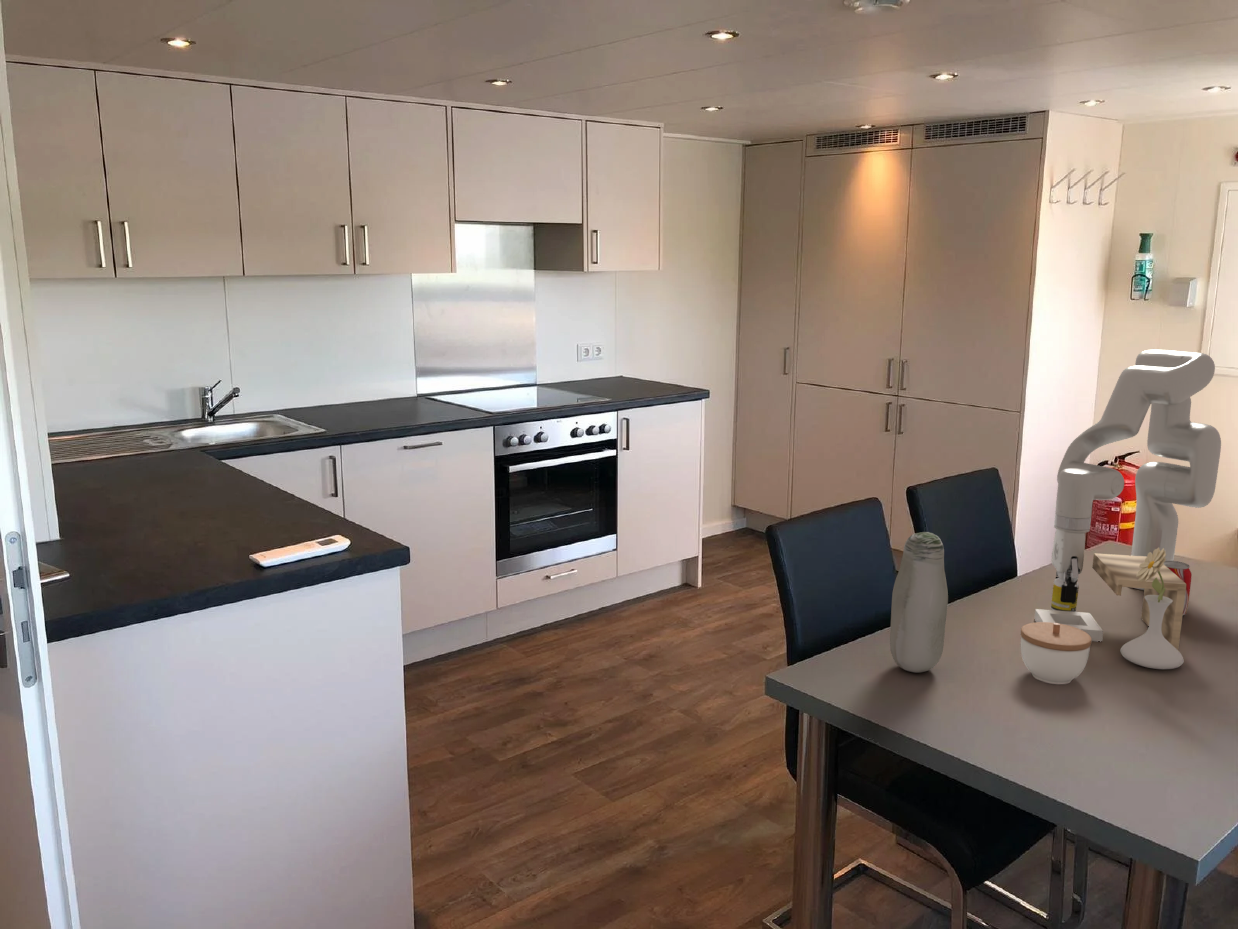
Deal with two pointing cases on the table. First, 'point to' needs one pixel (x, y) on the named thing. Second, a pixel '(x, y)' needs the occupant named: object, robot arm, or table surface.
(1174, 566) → the soda can
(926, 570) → the grey bottle
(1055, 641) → the lidded bowl
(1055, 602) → the supplement bottle
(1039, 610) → the socket block
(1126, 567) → the small wooden stool
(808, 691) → the table surface
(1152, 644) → the flower in vase
